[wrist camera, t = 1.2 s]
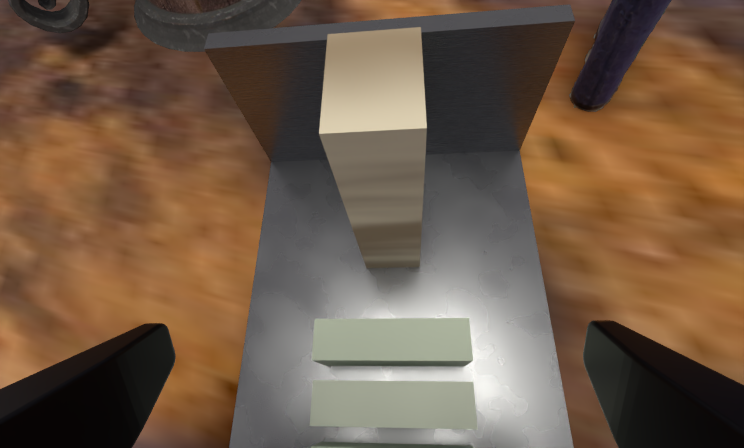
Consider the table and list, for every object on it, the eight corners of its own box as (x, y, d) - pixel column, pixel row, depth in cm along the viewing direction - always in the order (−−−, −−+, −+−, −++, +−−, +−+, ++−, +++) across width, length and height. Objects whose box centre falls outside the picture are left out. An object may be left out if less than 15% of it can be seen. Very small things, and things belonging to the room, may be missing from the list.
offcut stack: (475, 492, 17) (487, 511, 14) (318, 486, 17) (300, 503, 15) (461, 329, 20) (469, 318, 17) (327, 329, 20) (314, 319, 18)
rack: (589, 580, 16) (823, 821, 7) (221, 560, 17) (13, 735, 8) (513, 147, 25) (569, 4, 16) (277, 158, 27) (208, 33, 18)
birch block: (419, 266, 21) (426, 128, 10) (366, 268, 21) (318, 133, 11) (416, 203, 23) (420, 26, 12) (367, 205, 23) (327, 34, 12)
